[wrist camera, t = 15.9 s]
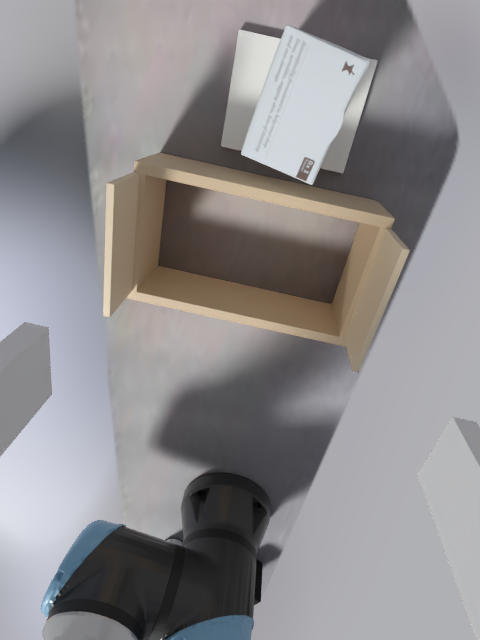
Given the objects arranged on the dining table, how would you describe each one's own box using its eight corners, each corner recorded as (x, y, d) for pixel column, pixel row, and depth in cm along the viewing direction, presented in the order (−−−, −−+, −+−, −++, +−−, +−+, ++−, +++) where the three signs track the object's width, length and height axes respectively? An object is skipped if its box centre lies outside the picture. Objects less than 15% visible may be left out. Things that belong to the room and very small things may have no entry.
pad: (342, 172, 41) (343, 173, 41) (221, 145, 41) (220, 146, 41) (376, 61, 37) (377, 60, 36) (239, 30, 37) (239, 29, 36)
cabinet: (337, 313, 49) (354, 380, 37) (148, 271, 49) (102, 324, 37) (377, 200, 42) (415, 238, 30) (159, 152, 42) (107, 169, 30)
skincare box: (285, 46, 36) (284, 9, 23) (344, 73, 37) (376, 52, 24) (251, 139, 40) (234, 153, 27) (305, 162, 41) (314, 187, 28)
